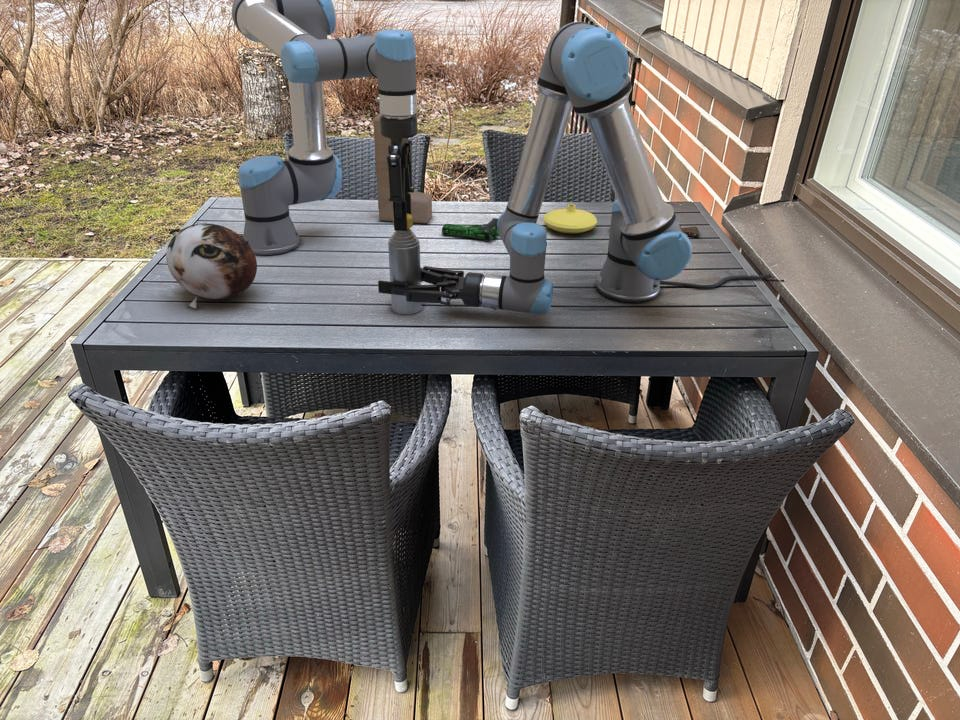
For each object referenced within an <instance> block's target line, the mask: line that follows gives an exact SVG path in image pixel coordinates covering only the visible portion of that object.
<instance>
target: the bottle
mask: <svg viewBox="0 0 960 720" xmlns="http://www.w3.org/2000/svg"><path fill="white" fill-rule="evenodd" d="M387 249H388V267H389V282H398V283H408V286H413V285H422V282H421V269H422V268H421V267H422V266H421V241H420V239H419V237H418V236H417V235H416V234H415V233H414V231H413V230H412V228H408V229H407V231H395V230H394V232H393V233H392V235H391V236H390V238H389V239H388V242H387ZM390 303H391V305H390V307H391V310H392V311H393V312H394V313H396V314H399V315H414V314H416V313H419V312H420V311H421V310H422V308H423V304H422V303H420V302H407V301H406V296H402V295H394V294H390Z"/></svg>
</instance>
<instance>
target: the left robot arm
mask: <svg viewBox="0 0 960 720" xmlns="http://www.w3.org/2000/svg"><path fill="white" fill-rule="evenodd" d="M231 17H232V21H233V24H234V26H235V27H236V29H237V30H238V31H239V33H240V34H241V35H242V36H243V37H245V38H246V39H248V40H249V41H251V42H254V43H260V44H261V45H262V46H264V47H265V48H266V49H268V50H269V52H271V53H273V55H275V56H276V57H278V58H279V59H280V62H281V63H280V64H281V69H282V71H283V73H284V74H285V77H286V79H287V81H288V90H289V91H288V92H289V103H290V114H291V115H290V116H291V129H292V139H293V141H292V143H293V145H292V146H291V148H289V149H288V159H287V160H283V158H282V157H281V156H279V155H273V154H270V155H260V156H257V157H253V158H250V159H248V160H245V161H244V162H243V163H241V165H240V166H239V167H238V170H237V174H238V186H239V190H240V196H241V201H242V208H243V212H244V213H243V215H244V219H245V220H244V226H243V228H244V229H243V234H242V235H240V234H239V235H240V236H241V237H243V238H244V239H245V240H246V241H249V242H248V244H249V245H250V247H251V248H252V250H253V252H254V254H255V256H256V255H257V256H275V255H281V254H282V255H283V254H285V253H289V252H291V251H293V250H296V249H297V248H298V247H299V246H300V244H301V241H300V235H299V233H298V231H297V229H296V227H295V225H294V223H293V220H292V218H291V216H290V207H289V206H293V205H299V204H306V203H312V202H318V201H320V202H321V201H325V200H327V199H332V198H334V197H336V196H337V195H338V194H339V193H340V191H341V189H342V185H343V169H342V168H341V166H342V164H341V161H340V160H339V158H338V157H337V155H335V154H334V152H333V149H332V148H331V147H330V146H328V143H327V124H326V123H327V121H326V105H325V87H324V86H325V85H324V82H330V81H338V80H351V79H352V80H353V79H361V78H374V79H377V93H378V96H376V98H375V101H376V102H377V103H379V105H378V106H379V107H378V110H379V114H380V113H381V114H382V116H381V117H380V132H381V135H382V136H384V137H388V138H390V139H391V145H390V146H389V147H388V153H389V155H387V162H388V171H389V187H390V198H389V201H390V202H393V214H394V225H393V230H394V232H395V231H407V214H411V194H409V193H414V190H415V188H413V185H414V183H413V160H412V157H413V156H412V152H413V151H412V149H413V148H412V147H413V141H412V140H411V138H414V137H416V136H417V135H418V130H419V129H418V116H417V115H416V114H417V113H418V93H417V59H416V58H417V57H416V56H417V52H416V47H415V46H416V44H415V36H414V34H413V32H411V31H410V30H403V29H382V30H379V31H377V32H376V34H375V36H374V35H373V34H357V35H355V36H354V37H341V38H328V36H331V35H332V34H334V33H335V31H336V26H337V17H336V10H335V7H334V3H333V0H233V2H232V7H231ZM411 187H412V188H411ZM180 230H182V229H180V228H173V229H171V230H170V231H169V232H168V235H173V234H174V233H178V232H179V231H180Z"/></svg>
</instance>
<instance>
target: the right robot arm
mask: <svg viewBox="0 0 960 720" xmlns="http://www.w3.org/2000/svg"><path fill="white" fill-rule="evenodd" d="M629 71H630V57H629V54H628V50H627V48H626V45H625V44H624V42H622V41H621V39H620V38H619V37H618V36H617V35H616V34H615V33H614V32H612V31H610V30H608V29H607V28H603V27H600V26H599V27H598V26H595V25H593V24H591V23H588V22H585V21H572V22H569V23H566V24H565V25H564V24H563V26H561V27H560V28H559V29H558V30H557V31H555V33H554V34H553V35H552V36H551V38H550V40H549V42H548V44H547V46H546V50H545V53H544V55H543V59H542V64H541V66H540V71H539V74H538V78H537V81H536V87H537V89H538V92H539V93H538V96H537V99H536V104H535V106H534V109H533V113H532V117H531V120H530V124H529V128H528V131H527V134H526V138H525V141H524V145H523V147H522V152H521V156H520V159H519V162H518V166H517V169H516V173H515V175H514V179H513V183H512V186H511V190H510V193H509V197H508V200H507V204H506V207H505V209H504V211H503V212H502V213H501V214H500V215H499V217H498V218H497V219H498V222H497V229H498V234H499V236H498V237H499V238H500V240H501V241H502V243H503V245H504V247H505V250H506V251H507V254H508V255H509V275H503V274H495V273H494V274H493V273H486V274H485V275H484V273H482V272H474V271H473V272H472V271H469V272H467V273H466V274H465V271H464V270H454V269H447V268H442V267H441V268H440V267H435V266H428V265H424V266H423V268H421V283H423V282H424V283H426V284H421V285H413V286H408V283H398V282H390V280H379V279H378V281H377V285H378V287H377V288H378V293H379V294H387V295H391V294H394V295H402V296H406V301H407V302H420V303H423V304H438V305H439V304H440V305H444V306H450V305H451V301H452V300H461V301H462V304H463V305H464V306H466V307H474V308H479V307H482V308H484V309H493V310H494V311H496V310H500V311H501V310H502V311H510V312H518V313H527V314H529V315H530V314H534V315H546V314H548V313H550V311H551V308H552V304H553V298H554V283H553V281H551V280H549V279H545V267H546V255H547V254H546V253H547V246H548V241H547V230H546V228H545V226H543V225H542V224H541V225H540V224H539V223H537V222H538V219H539V215H540V212H541V209H542V205H543V202H544V199H545V197H546V192H547V190H548V186H549V183H550V180H551V177H552V174H553V171H554V168H555V164H556V161H557V158H558V155H559V152H560V149H561V145H562V143H563V142H562V141H563V139H564V136H565V133H566V129H567V126H568V123H569V120H570V117H571V114H572V110H573V112H574V113H575V115H577V116H580V117H583V118H584V119H585V120H586V122H587V125H588V128H589V130H590V133H591V136H592V138H593V141H594V143H595V146H596V149H597V151H598V153H599V157H600V159H601V162H602V164H603V167H604V169H605V172H606V175H607V178H608V180H609V182H610V185H611V188H612V190H613V193H614V195H615V198H616V199H615V200H613V204H612V210H611V212H610V214H611V215H610V216H611V218H610V224H609V234H608V244H607V253H606V254H607V255H606V258H605V261H604V264H603V265H602V267H601V270H600V271H599V273H598V276H597V280H596V283H595V284H596V286H595V287H596V290H597V292H598V293H600V294H601V295H602V296H604V297H605V298H608V299H610V300H613V301H617V302H621V303H622V302H623V303H633V304H634V303H635V304H636V303H646V302H649V301H652V300H655V299H657V297H658V296H659V294H660V292H661V291H660V290H661V285H664V286H675V287H676V286H678V287H687V288H693V289H706V290H707V289H714V288H718V287H720V286H721V285H722V284H724V283H725V282H728V281H733V280H759V279H760V280H762V279H770V278H771V279H772V278H773V277H772V276H771V274H772V273H768V274H757V275H758V276H759V277H758V276H757V275H750V276H748V275H749V274H747V275H746V274H745V275H743V274H742V275H741V274H740V275H729V276H726V277H723V278H722V279H720V280H719V281H718V282H717V283H712V284H696V283H690V282H679V281H670V279H672V278H674V277H676V276H678V275H679V274H681V273H682V272H683V271H684V270H685V269H686V268H687V265H688V264H689V262H690V261H691V259H692V256H693V245H692V242H691V240H690V238H689V236H688V237H687V235H686V234H684V233H682V231H681V229H680V226H679V225H680V223H679V221H678V218H677V215H676V212H675V210H674V209H675V208H674V207H673V206H672V205H671V204H670V203H668V202H667V203H666V202H665V201H664V200H663V197H662V195H661V191H660V189H659V186H658V183H657V180H656V177H655V174H654V172H653V169H652V166H651V162H650V160H649V157H648V153H647V151H646V147H645V146H644V142H643V139H642V137H641V134H640V131H639V128H638V125H637V122H636V119H635V116H634V114H633V110H632V108H631V105H630V102H629V96H630V94H631V92H632V90H633V85H632V82H631V80H630V76H629ZM668 280H669V281H668Z"/></svg>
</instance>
